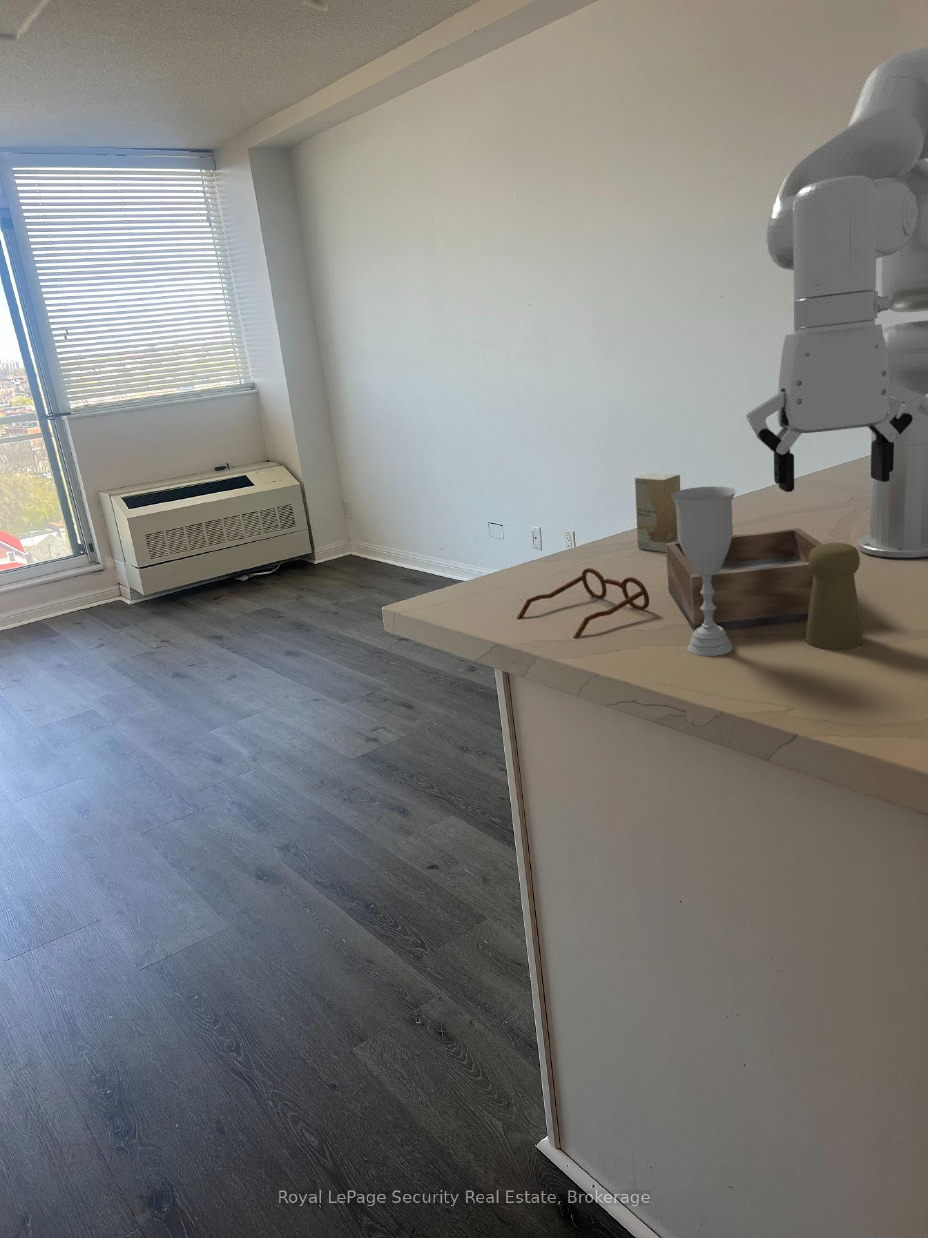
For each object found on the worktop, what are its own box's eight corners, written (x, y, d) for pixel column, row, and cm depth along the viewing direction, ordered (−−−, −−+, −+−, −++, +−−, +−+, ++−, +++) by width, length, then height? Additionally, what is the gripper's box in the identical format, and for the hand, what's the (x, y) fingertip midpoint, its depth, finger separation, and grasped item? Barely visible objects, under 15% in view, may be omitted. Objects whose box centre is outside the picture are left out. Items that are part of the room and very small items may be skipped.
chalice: (671, 642, 104) (662, 492, 99) (727, 633, 104) (721, 483, 99) (691, 663, 97) (683, 502, 92) (751, 654, 97) (746, 493, 92)
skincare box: (637, 549, 148) (632, 477, 144) (653, 543, 150) (648, 472, 147) (668, 553, 143) (664, 478, 139) (684, 546, 146) (680, 473, 142)
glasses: (652, 614, 116) (650, 578, 114) (575, 641, 110) (572, 603, 108) (588, 597, 127) (585, 564, 125) (515, 621, 121) (511, 586, 119)
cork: (868, 648, 95) (870, 549, 92) (809, 650, 96) (808, 553, 93) (856, 629, 100) (857, 536, 97) (800, 632, 102) (799, 540, 99)
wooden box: (799, 577, 122) (799, 528, 120) (847, 617, 105) (847, 560, 103) (668, 591, 123) (665, 542, 121) (694, 632, 106) (691, 577, 104)
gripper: (906, 305, 91) (902, 471, 96) (736, 326, 92) (740, 488, 97) (940, 302, 84) (933, 481, 88) (755, 324, 85) (759, 499, 90)
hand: (832, 484), depth 93 cm, fingers open, 9 cm apart
